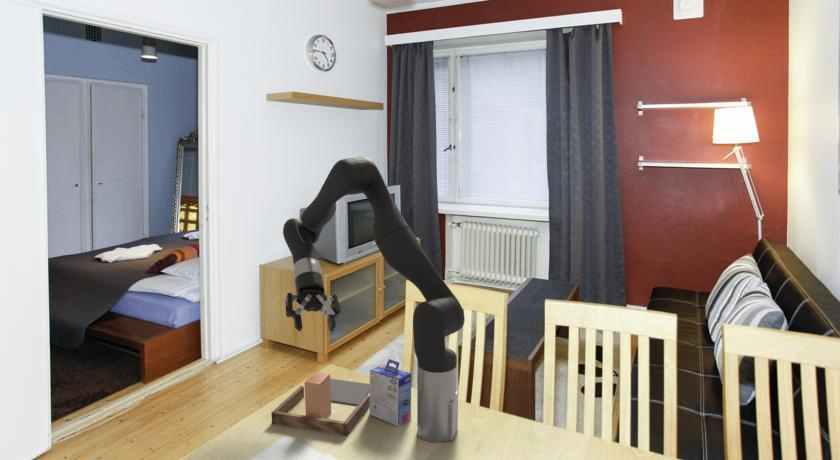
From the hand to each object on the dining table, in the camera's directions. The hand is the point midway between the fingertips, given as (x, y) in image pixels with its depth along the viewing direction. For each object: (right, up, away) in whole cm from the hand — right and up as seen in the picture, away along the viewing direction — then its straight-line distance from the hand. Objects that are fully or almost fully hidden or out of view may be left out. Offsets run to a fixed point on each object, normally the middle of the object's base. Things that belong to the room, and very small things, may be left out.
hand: (316, 329), depth 144 cm
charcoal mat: (+6, -19, +10) cm, 22 cm away
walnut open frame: (+2, -21, -2) cm, 21 cm away
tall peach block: (+1, -22, -4) cm, 22 cm away
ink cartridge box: (+19, -22, -3) cm, 29 cm away
